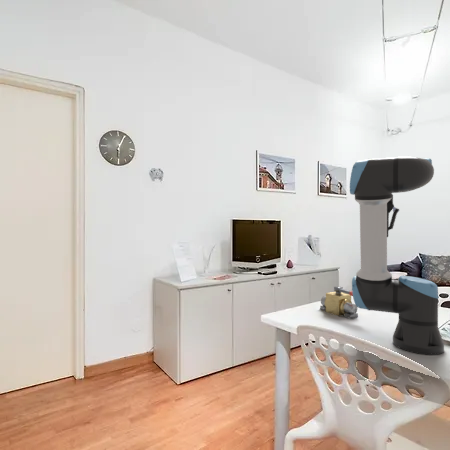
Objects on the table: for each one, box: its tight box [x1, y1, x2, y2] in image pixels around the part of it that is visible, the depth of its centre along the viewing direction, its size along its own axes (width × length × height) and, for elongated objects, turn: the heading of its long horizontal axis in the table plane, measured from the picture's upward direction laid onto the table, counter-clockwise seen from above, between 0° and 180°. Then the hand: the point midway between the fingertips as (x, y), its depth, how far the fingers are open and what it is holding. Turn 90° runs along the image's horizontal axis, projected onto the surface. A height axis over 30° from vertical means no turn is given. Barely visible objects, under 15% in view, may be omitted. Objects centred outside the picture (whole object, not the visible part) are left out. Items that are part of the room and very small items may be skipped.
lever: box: [333, 286, 353, 297], centre depth 147 cm, size 18×4×2 cm, turn 20°
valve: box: [320, 291, 359, 319], centre depth 154 cm, size 8×18×10 cm, turn 29°
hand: (383, 244), depth 154 cm, fingers closed
